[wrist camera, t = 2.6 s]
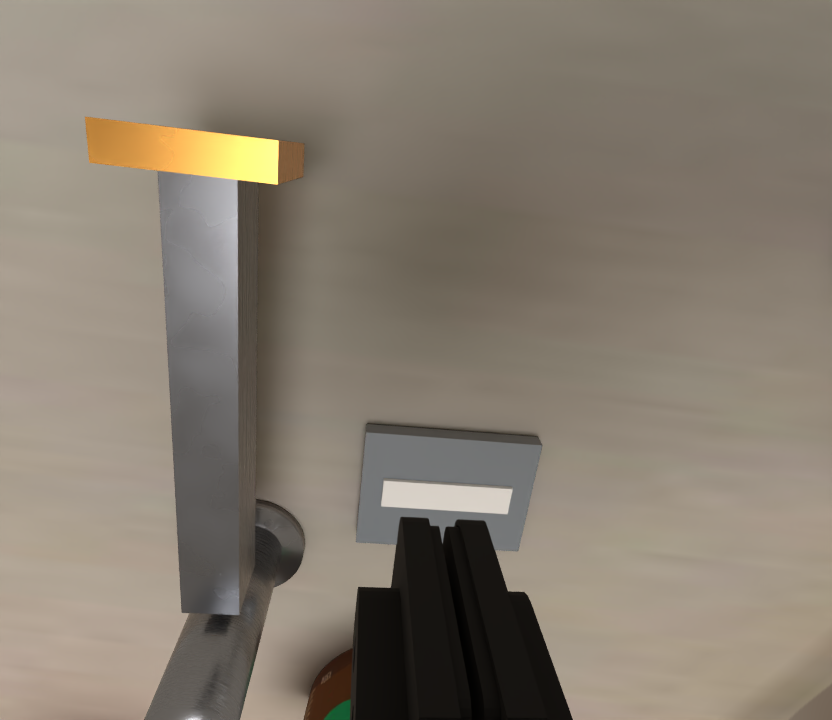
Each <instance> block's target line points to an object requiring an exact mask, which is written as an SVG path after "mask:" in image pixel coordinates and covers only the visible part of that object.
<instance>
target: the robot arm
mask: <svg viewBox="0 0 832 720" xmlns="http://www.w3.org/2000/svg"><path fill="white" fill-rule="evenodd" d="M350 720H573V719H572V716H571V713H570V710H569V708H568V705H567V702H566V699H565V696H564V694H563V691H562V688H561V685H560V683H559V680H558V677H557V674H556V671H555V669H554V666H553V663H552V660H551V657H550V655H549V652H548V649H547V646H546V643H545V641H544V638H543V635H542V632H541V629H540V627H539V624H538V621H537V618H536V616H535V613H534V610H533V607H532V604H531V602H530V600H529V598H528V595H527V594H526V593H525V592H508V591H507V587H506V584H505V581H504V578H503V575H502V571H501V568H500V565H499V562H498V559H497V556H496V552H495V549H494V546H493V543H492V540H491V536H490V533H489V530H488V527H487V524H486V522H485V521H484V520H463V519H457V520H456V522H455V525H454V527H450V526H447V527H446V528H445V532H444V538H443V544H442V539H441V533H440V528H439V526H430V522H429V519H428V518H419V517H400V521H399V528H398V536H397V544H396V552H395V560H394V568H393V576H392V584H391V588H373V587H358V592H357V601H356V612H355V623H354V636H353V652H352V675H351V701H350Z"/></svg>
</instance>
